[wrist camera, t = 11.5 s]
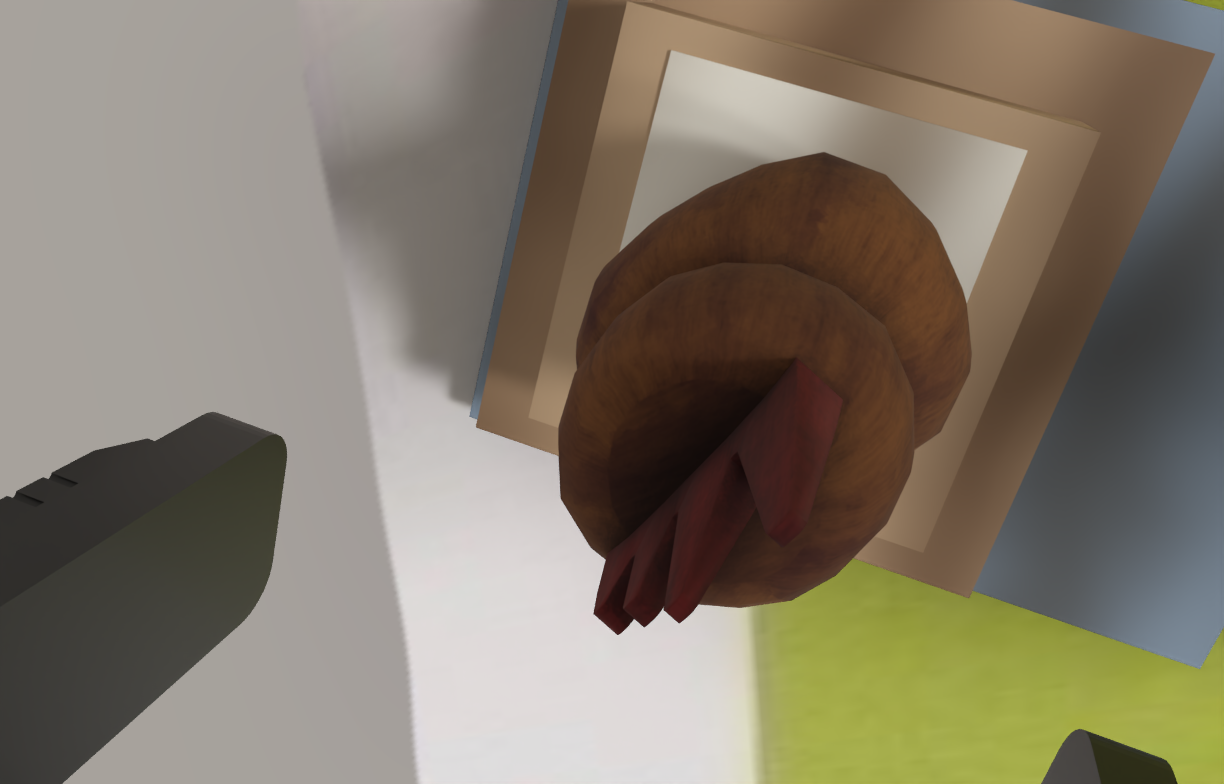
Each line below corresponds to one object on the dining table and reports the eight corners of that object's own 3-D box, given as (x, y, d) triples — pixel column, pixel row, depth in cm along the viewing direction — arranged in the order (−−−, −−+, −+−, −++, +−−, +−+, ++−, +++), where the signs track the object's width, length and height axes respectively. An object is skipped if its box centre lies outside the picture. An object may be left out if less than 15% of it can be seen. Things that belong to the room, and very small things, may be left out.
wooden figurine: (883, 87, 21) (858, 207, 8) (995, 335, 23) (1148, 824, 9) (602, 231, 24) (210, 513, 10) (714, 448, 25) (494, 967, 11)
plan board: (1507, 86, 24) (1692, 107, 18) (1190, 649, 30) (1257, 792, 24) (601, -146, 27) (523, -189, 21) (481, 405, 33) (397, 483, 28)
